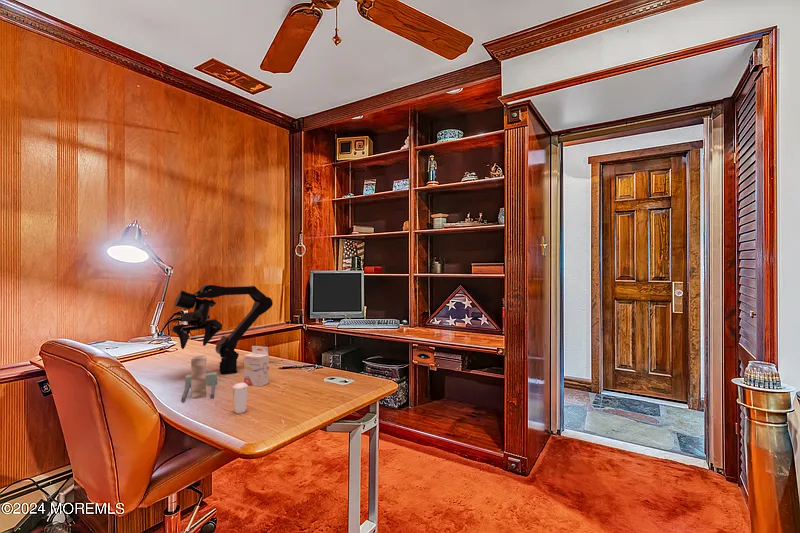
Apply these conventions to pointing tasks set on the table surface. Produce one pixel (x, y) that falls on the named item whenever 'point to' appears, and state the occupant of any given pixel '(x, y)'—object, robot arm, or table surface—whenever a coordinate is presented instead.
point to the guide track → (210, 380)
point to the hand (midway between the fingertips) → (193, 347)
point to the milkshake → (240, 397)
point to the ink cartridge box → (256, 367)
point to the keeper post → (198, 377)
